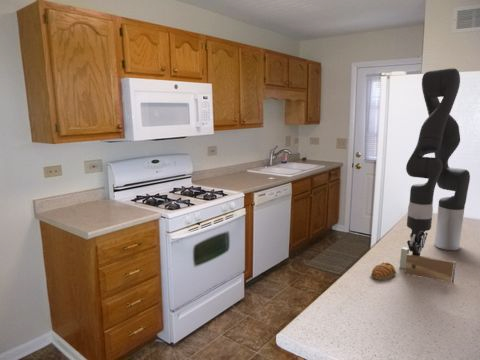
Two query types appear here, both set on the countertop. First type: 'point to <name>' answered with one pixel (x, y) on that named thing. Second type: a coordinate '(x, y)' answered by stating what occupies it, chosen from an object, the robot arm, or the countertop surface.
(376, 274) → the pastry
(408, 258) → the door
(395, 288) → the countertop surface
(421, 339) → the countertop surface
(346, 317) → the countertop surface
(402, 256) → the grey rectangular block
